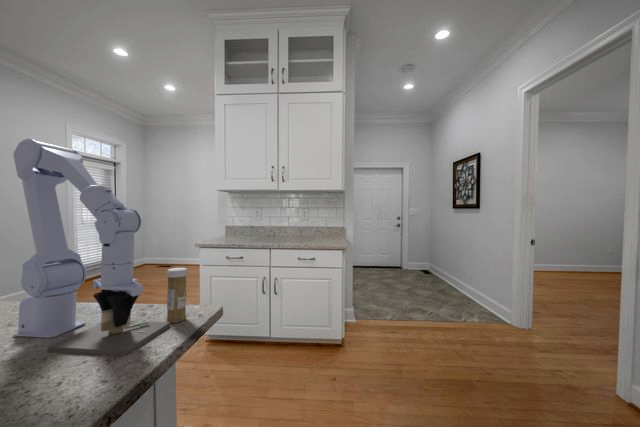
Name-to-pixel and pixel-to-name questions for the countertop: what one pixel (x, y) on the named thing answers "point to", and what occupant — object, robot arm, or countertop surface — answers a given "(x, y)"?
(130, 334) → the dial board
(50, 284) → the robot arm
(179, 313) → the sprinkles bottle
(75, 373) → the countertop surface
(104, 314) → the peg
